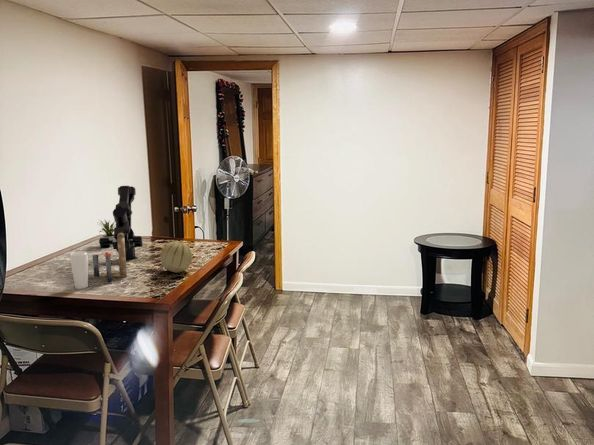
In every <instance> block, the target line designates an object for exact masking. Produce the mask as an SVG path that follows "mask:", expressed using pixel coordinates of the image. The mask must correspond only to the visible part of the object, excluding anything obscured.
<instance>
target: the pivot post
mask: <svg viewBox="0 0 594 445" xmlns="http://www.w3.org/2000/svg"><path fill="white" fill-rule="evenodd" d="M99 263H100V262H99V254H93V255H92V268H93V275H91V278H92V279H99V278H102V277H103V276H101V274H100V264H99Z"/></svg>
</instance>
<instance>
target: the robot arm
mask: <svg viewBox="0 0 594 445" xmlns="http://www.w3.org/2000/svg"><path fill="white" fill-rule="evenodd" d="M136 192H137V191H136V187H134V186H130V185H121V186H119V187H117V195H118V196H119V198H118V199H119V200H118V203H116V204H115V208H114V209H113V211H112V216H113V219H114V221H115V222H114V223H115V224H116V225H115V226H114V228H113V229H114V232H113V234H114V238H115V239H113V240H109V237H105V238H103V237H100V238H99V240H98V242H99V246H100V249H102V250H103V249H104V250H105V249H109V248H111V247H110V245H113V247H112V248H113V250H116V251H117V253H118V241H117V235H118V234H119V233H123V234H124V240H125V256H126V261H131V260H135V259H137V258H138V256H136V248H142V247H143V246H144V244H143V243H144V242H143V237H142V236H141V235H135V232H134V230H133V229H132V215H133V210H132V203H133V202H134V200H135V196H136Z"/></svg>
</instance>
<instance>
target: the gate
mask: <svg viewBox="0 0 594 445" xmlns="http://www.w3.org/2000/svg"><path fill="white" fill-rule="evenodd" d="M117 241H118V252H117V254H118V268H119V269H118V270H119V272H118V271H113V272H112V271H111V273H112V277H121V278H125V277H127V275H128V274H127V273H128V271H127V260H126V256H125V240H124V234H123V233H119V234H118V235H117ZM99 274H100V275H101V276H102V277H107V271H106V272H99Z"/></svg>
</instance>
